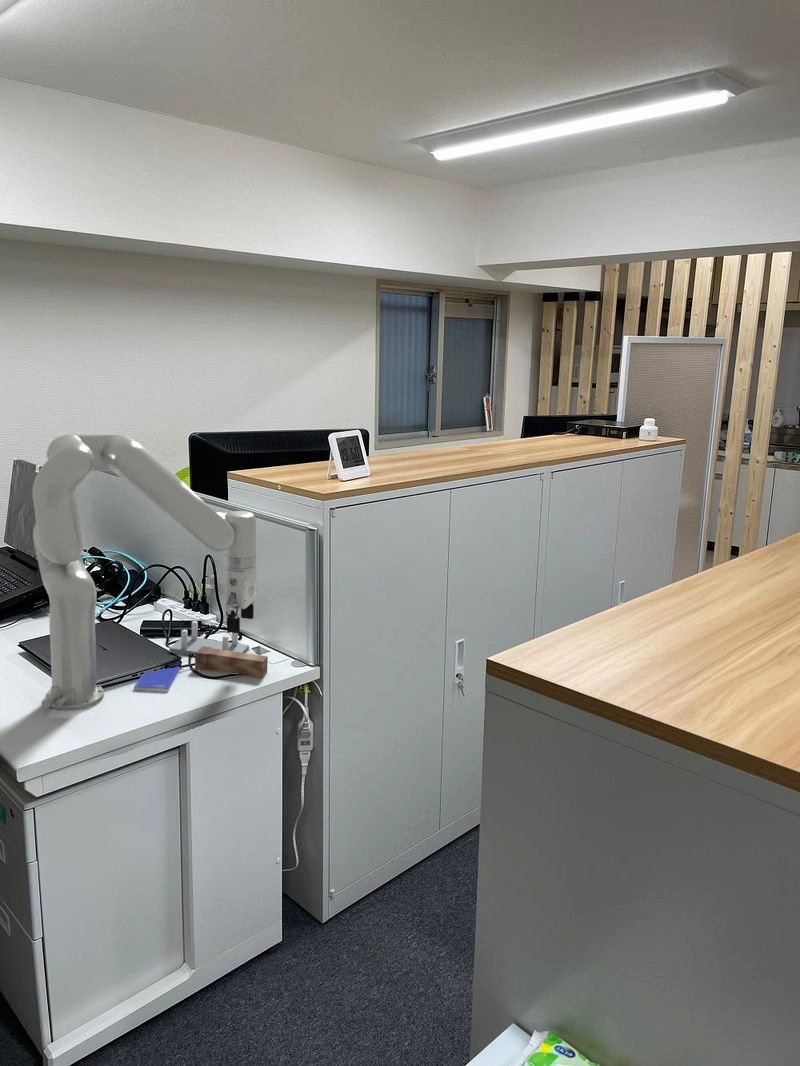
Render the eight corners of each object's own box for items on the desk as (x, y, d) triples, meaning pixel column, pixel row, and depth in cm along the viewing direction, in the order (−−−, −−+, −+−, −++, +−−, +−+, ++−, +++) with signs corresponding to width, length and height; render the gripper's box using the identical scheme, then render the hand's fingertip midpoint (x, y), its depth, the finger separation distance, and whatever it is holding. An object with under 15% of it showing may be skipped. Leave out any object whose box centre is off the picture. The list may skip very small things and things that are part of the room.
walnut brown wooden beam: (267, 671, 205) (268, 655, 204) (261, 678, 201) (262, 662, 199) (202, 662, 207) (202, 646, 206) (195, 668, 203) (195, 652, 202)
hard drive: (168, 687, 190) (180, 666, 202) (133, 686, 189) (147, 664, 201) (168, 693, 190) (180, 672, 202) (133, 692, 190) (147, 670, 202)
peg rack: (248, 649, 217) (249, 628, 216) (236, 662, 209) (237, 640, 207) (183, 639, 220) (183, 619, 219) (169, 652, 212) (169, 630, 210)
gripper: (242, 573, 188) (242, 639, 192) (266, 552, 204) (265, 614, 209) (212, 569, 189) (213, 636, 193) (238, 549, 205) (238, 611, 210)
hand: (240, 625), depth 201 cm, fingers open, 9 cm apart
